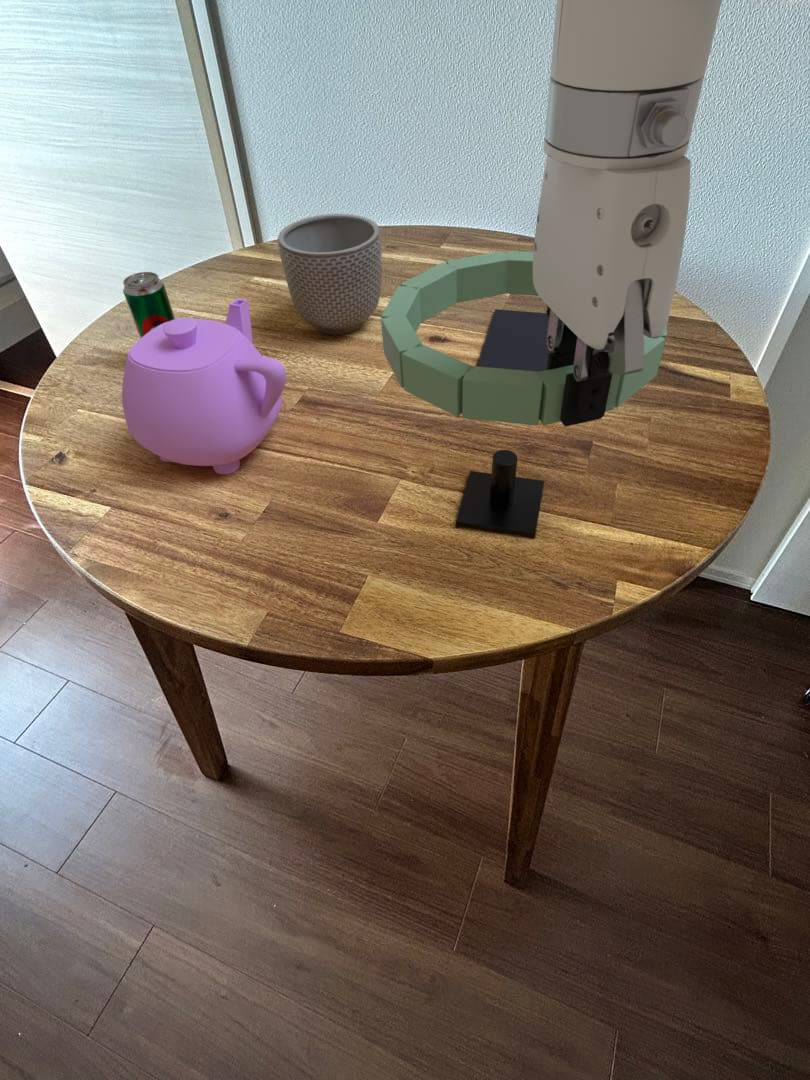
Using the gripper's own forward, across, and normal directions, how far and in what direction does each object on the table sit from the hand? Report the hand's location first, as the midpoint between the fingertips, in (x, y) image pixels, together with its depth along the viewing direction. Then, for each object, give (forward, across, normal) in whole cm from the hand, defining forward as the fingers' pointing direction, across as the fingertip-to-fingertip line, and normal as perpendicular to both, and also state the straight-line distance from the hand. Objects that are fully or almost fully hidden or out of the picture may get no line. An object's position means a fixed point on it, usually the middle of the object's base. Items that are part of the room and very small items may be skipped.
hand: (573, 408), depth 47 cm
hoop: (0, +10, 0) cm, 10 cm away
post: (+19, +10, 0) cm, 21 cm away
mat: (+19, +37, -17) cm, 45 cm away
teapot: (+18, +32, +26) cm, 45 cm away
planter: (+18, +54, +9) cm, 58 cm away
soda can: (+18, +51, +33) cm, 64 cm away
